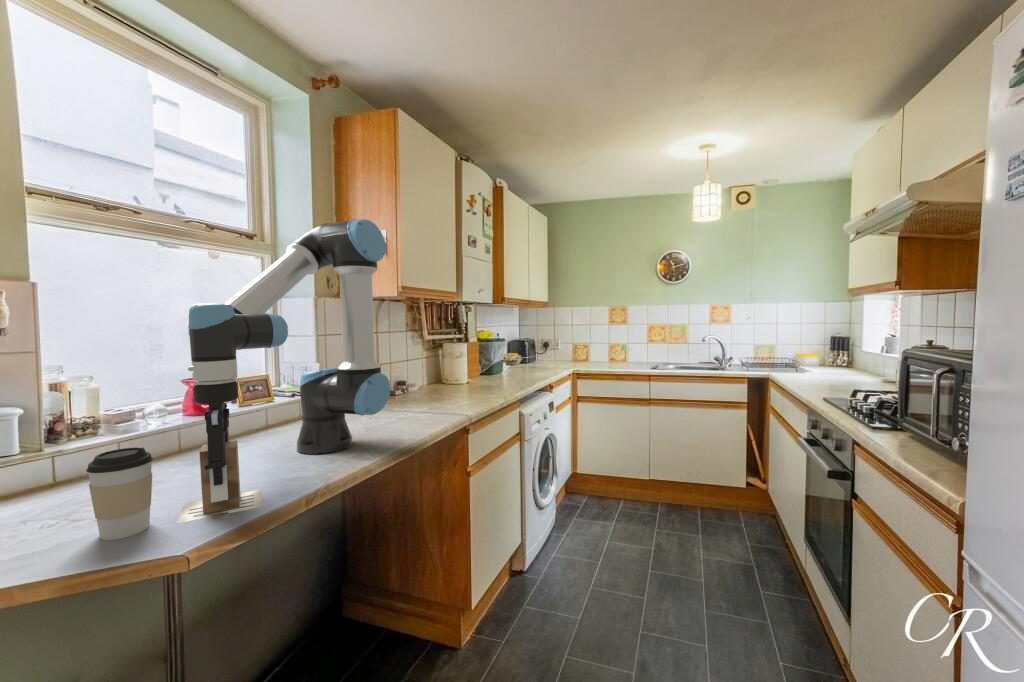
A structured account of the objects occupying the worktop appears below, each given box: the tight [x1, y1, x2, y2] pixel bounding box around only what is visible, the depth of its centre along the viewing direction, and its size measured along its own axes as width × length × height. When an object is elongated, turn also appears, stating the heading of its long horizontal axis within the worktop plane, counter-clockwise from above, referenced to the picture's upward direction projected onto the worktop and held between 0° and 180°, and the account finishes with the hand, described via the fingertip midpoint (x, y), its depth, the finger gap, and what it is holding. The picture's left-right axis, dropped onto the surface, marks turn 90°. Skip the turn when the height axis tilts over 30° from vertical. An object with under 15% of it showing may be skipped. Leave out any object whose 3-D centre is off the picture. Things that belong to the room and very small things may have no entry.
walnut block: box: [199, 440, 241, 513], centre depth 92 cm, size 6×6×12 cm
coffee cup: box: [85, 446, 154, 541], centre depth 81 cm, size 9×9×15 cm
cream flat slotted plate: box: [175, 488, 263, 524], centre depth 92 cm, size 17×15×1 cm
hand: (221, 491), depth 92 cm, fingers open, 10 cm apart
